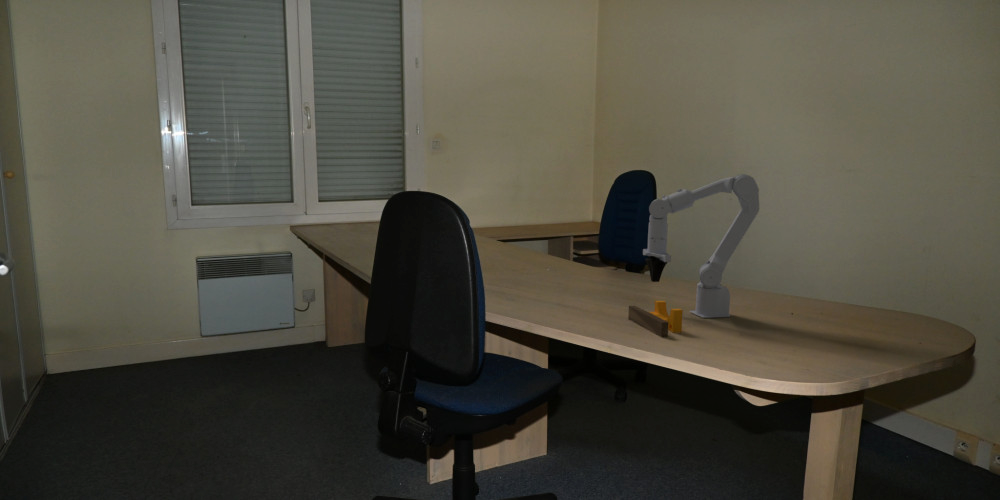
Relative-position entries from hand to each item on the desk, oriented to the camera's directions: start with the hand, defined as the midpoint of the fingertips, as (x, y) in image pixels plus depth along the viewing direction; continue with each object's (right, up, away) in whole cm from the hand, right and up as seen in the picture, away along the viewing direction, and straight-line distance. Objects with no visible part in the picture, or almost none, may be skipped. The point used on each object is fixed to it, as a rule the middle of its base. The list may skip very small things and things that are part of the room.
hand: (655, 281), depth 207 cm
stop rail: (-7, -12, -19) cm, 23 cm away
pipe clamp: (-2, -13, -18) cm, 22 cm away
